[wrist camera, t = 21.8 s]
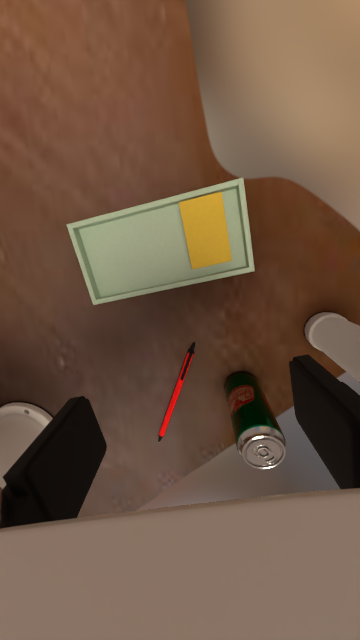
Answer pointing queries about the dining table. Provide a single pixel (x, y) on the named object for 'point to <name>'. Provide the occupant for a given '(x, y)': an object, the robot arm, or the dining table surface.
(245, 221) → the tray
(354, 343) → the bottle
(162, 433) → the pen
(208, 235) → the sponge
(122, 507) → the dining table surface
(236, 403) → the soda can
